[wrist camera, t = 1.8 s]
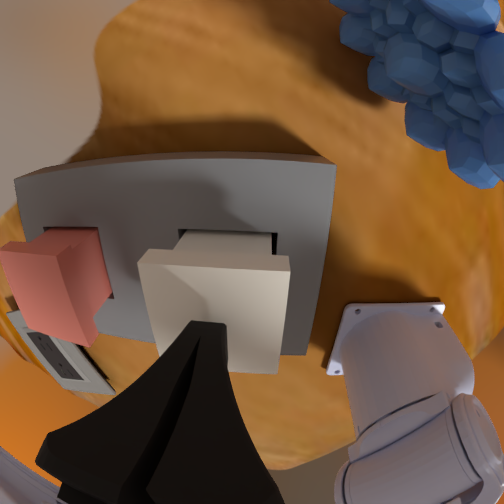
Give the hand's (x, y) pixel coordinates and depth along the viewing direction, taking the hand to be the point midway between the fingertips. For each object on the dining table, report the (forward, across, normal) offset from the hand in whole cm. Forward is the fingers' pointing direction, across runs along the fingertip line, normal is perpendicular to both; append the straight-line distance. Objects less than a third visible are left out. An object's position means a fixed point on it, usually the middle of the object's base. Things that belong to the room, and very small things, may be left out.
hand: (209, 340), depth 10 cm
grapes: (+9, -9, -12) cm, 17 cm away
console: (+8, +5, 0) cm, 10 cm away
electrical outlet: (+9, +21, +14) cm, 27 cm away
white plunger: (+6, 0, 0) cm, 6 cm away
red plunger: (+6, +10, 0) cm, 12 cm away
